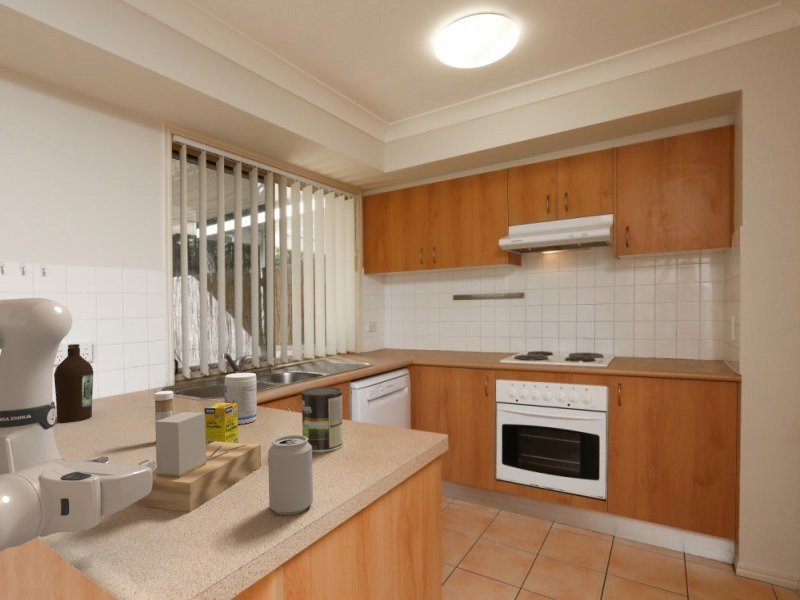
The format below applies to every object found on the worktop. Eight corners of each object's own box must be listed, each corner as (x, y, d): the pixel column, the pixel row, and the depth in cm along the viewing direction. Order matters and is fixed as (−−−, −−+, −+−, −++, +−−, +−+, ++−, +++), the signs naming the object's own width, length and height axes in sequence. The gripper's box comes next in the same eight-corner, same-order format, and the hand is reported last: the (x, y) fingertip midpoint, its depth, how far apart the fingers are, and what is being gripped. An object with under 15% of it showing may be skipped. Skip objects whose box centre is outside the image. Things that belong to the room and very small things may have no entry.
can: (295, 494, 83) (294, 430, 83) (321, 505, 78) (320, 437, 79) (260, 509, 77) (259, 440, 78) (286, 521, 73) (285, 448, 73)
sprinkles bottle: (175, 438, 122) (174, 389, 122) (172, 443, 118) (172, 392, 118) (156, 440, 121) (155, 391, 121) (153, 445, 116) (152, 394, 116)
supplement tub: (218, 423, 137) (217, 376, 137) (241, 416, 146) (241, 371, 146) (240, 426, 133) (239, 377, 133) (263, 419, 141) (262, 373, 141)
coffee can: (308, 455, 105) (307, 396, 105) (297, 444, 114) (296, 389, 114) (349, 448, 110) (348, 391, 110) (335, 438, 119) (334, 385, 119)
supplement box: (225, 452, 109) (224, 408, 109) (204, 451, 110) (203, 407, 110) (239, 445, 115) (238, 402, 115) (218, 444, 116) (217, 402, 116)
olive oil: (47, 424, 142) (46, 346, 142) (64, 416, 152) (63, 344, 152) (85, 421, 144) (84, 345, 144) (99, 414, 154) (98, 342, 155)
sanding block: (179, 478, 79) (178, 422, 80) (156, 476, 81) (155, 421, 81) (206, 464, 86) (204, 412, 86) (184, 462, 88) (183, 412, 88)
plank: (190, 511, 77) (190, 482, 77) (134, 505, 80) (134, 477, 80) (261, 466, 98) (260, 443, 98) (214, 463, 101) (214, 441, 101)
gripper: (-18, 515, 61) (78, 477, 75) (99, 531, 56) (180, 487, 69) (-18, 469, 61) (78, 440, 75) (98, 481, 56) (179, 446, 69)
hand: (128, 462), depth 72 cm, fingers open, 8 cm apart
